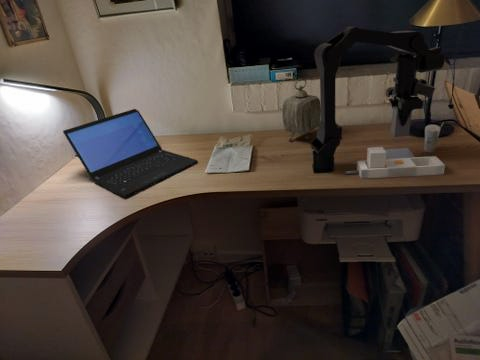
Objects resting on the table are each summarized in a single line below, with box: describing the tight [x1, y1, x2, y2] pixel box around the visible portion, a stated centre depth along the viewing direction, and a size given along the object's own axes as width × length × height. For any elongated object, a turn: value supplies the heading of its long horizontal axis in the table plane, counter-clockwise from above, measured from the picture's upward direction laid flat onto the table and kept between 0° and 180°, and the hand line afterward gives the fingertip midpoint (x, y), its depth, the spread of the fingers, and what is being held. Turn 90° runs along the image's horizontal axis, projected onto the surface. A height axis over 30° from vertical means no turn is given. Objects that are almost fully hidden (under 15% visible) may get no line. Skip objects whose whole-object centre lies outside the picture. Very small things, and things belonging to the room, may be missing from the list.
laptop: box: [62, 108, 199, 198], centre depth 129 cm, size 33×38×19 cm
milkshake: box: [423, 121, 445, 153], centre depth 114 cm, size 4×5×10 cm
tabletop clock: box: [281, 77, 321, 142], centre depth 135 cm, size 14×9×25 cm, turn 133°
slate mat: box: [384, 147, 416, 159], centre depth 115 cm, size 10×10×1 cm
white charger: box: [366, 146, 386, 169], centre depth 105 cm, size 4×4×8 cm
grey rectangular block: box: [390, 107, 413, 138], centre depth 109 cm, size 4×4×9 cm
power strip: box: [345, 155, 446, 179], centre depth 105 cm, size 28×7×4 cm, turn 83°
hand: (400, 123), depth 110 cm, fingers closed on grey rectangular block, 4 cm apart
